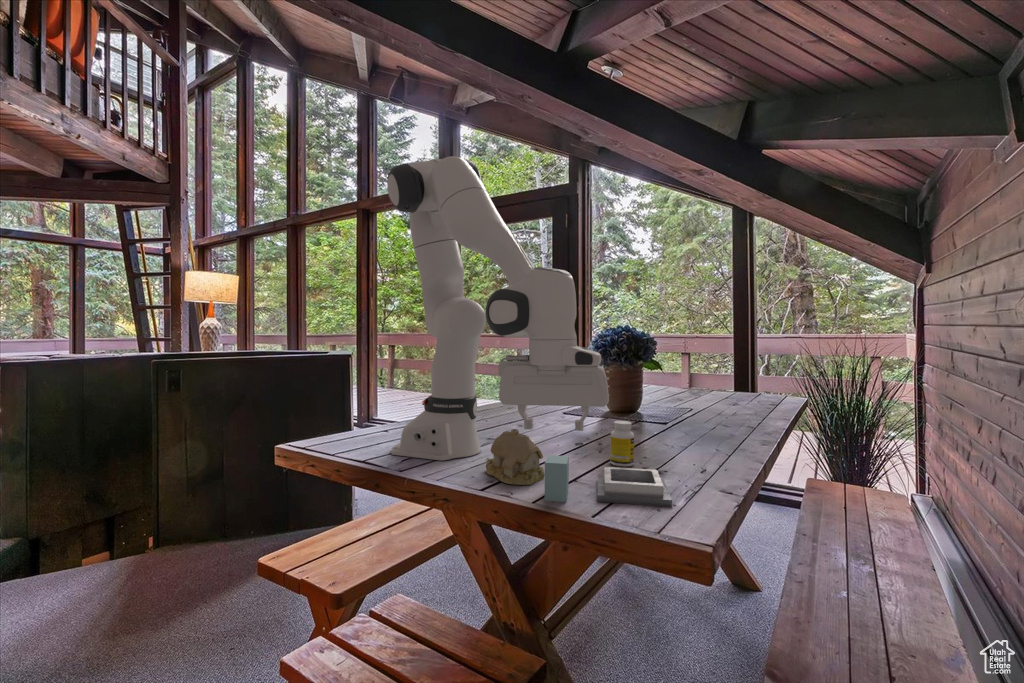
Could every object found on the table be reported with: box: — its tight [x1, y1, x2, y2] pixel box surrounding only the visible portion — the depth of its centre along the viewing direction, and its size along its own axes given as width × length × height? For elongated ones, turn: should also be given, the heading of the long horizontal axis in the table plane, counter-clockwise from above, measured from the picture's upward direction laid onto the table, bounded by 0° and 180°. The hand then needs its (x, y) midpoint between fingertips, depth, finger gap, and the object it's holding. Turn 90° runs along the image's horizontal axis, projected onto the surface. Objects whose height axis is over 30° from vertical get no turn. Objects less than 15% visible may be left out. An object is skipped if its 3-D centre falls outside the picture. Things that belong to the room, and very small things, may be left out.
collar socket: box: [596, 466, 673, 508], centre depth 93 cm, size 13×13×3 cm
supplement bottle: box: [609, 420, 635, 468], centre depth 113 cm, size 5×5×10 cm
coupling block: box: [544, 454, 570, 503], centre depth 90 cm, size 4×6×7 cm
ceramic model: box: [485, 428, 545, 486], centre depth 103 cm, size 14×11×10 cm
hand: (553, 429), depth 90 cm, fingers open, 8 cm apart
